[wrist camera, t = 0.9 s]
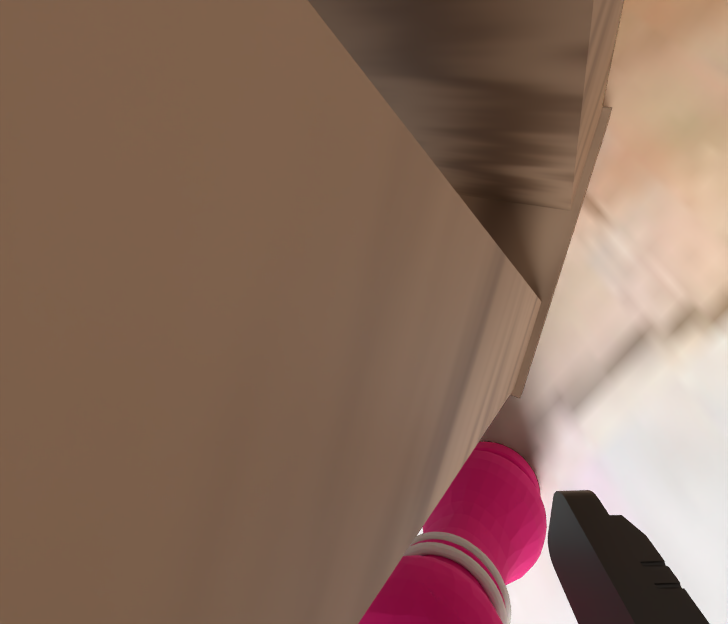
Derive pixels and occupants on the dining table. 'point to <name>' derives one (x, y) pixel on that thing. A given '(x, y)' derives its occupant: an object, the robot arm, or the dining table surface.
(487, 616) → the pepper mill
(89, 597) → the walnut rack
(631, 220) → the dining table surface
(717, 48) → the dining table surface
